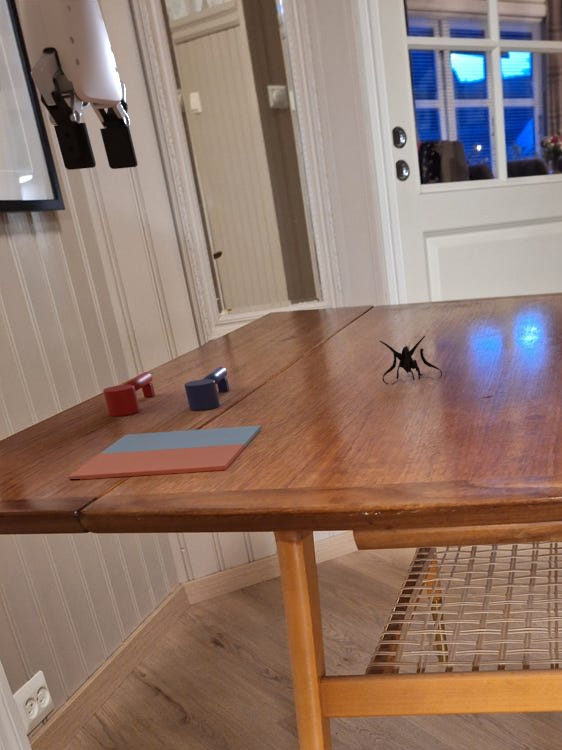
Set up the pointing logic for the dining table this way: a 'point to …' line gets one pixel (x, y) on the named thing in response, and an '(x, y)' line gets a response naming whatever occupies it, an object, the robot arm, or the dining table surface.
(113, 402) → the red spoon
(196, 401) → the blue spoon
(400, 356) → the creature
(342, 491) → the dining table surface
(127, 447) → the mat
